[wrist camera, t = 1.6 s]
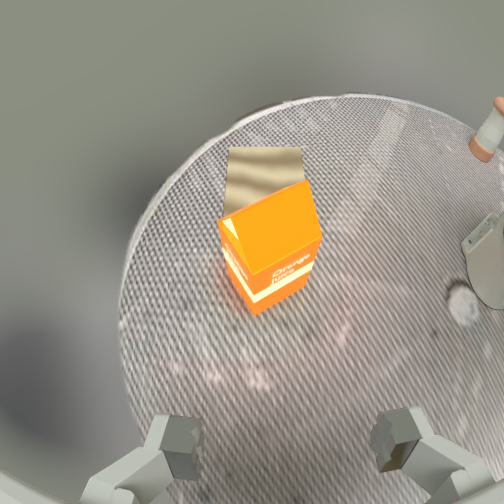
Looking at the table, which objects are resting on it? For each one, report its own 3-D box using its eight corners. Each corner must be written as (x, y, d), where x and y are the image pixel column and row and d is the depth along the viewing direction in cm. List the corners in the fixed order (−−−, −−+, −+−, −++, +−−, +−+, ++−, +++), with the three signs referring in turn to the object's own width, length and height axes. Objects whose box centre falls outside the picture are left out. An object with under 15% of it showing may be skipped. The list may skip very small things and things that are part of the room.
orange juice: (305, 286, 45) (334, 206, 27) (254, 316, 43) (251, 251, 25) (277, 246, 48) (286, 154, 30) (227, 273, 46) (209, 188, 28)
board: (229, 149, 58) (229, 146, 58) (300, 150, 58) (300, 147, 57) (222, 236, 49) (221, 233, 48) (309, 236, 49) (310, 234, 48)
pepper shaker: (464, 142, 61) (492, 88, 44) (479, 142, 62) (507, 92, 45) (479, 162, 58) (512, 108, 41) (493, 162, 59) (525, 111, 42)
